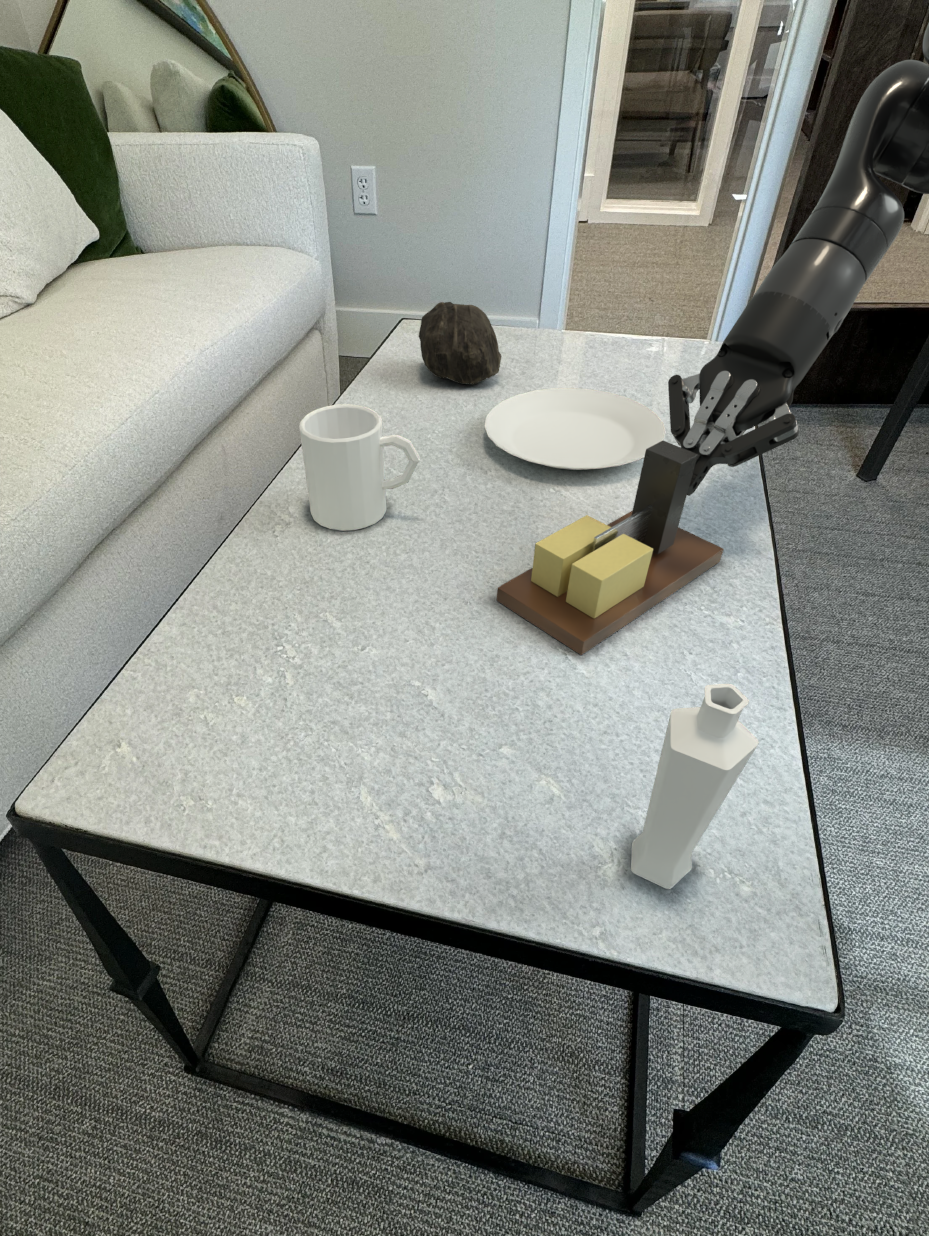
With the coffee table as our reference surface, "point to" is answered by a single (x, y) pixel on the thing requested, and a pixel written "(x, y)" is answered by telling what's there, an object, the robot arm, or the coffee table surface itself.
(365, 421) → the mug
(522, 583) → the slicer board
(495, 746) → the coffee table surface
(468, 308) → the rock
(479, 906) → the coffee table surface
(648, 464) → the knife
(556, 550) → the butter
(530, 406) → the plate
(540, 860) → the coffee table surface
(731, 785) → the white faceted vase
